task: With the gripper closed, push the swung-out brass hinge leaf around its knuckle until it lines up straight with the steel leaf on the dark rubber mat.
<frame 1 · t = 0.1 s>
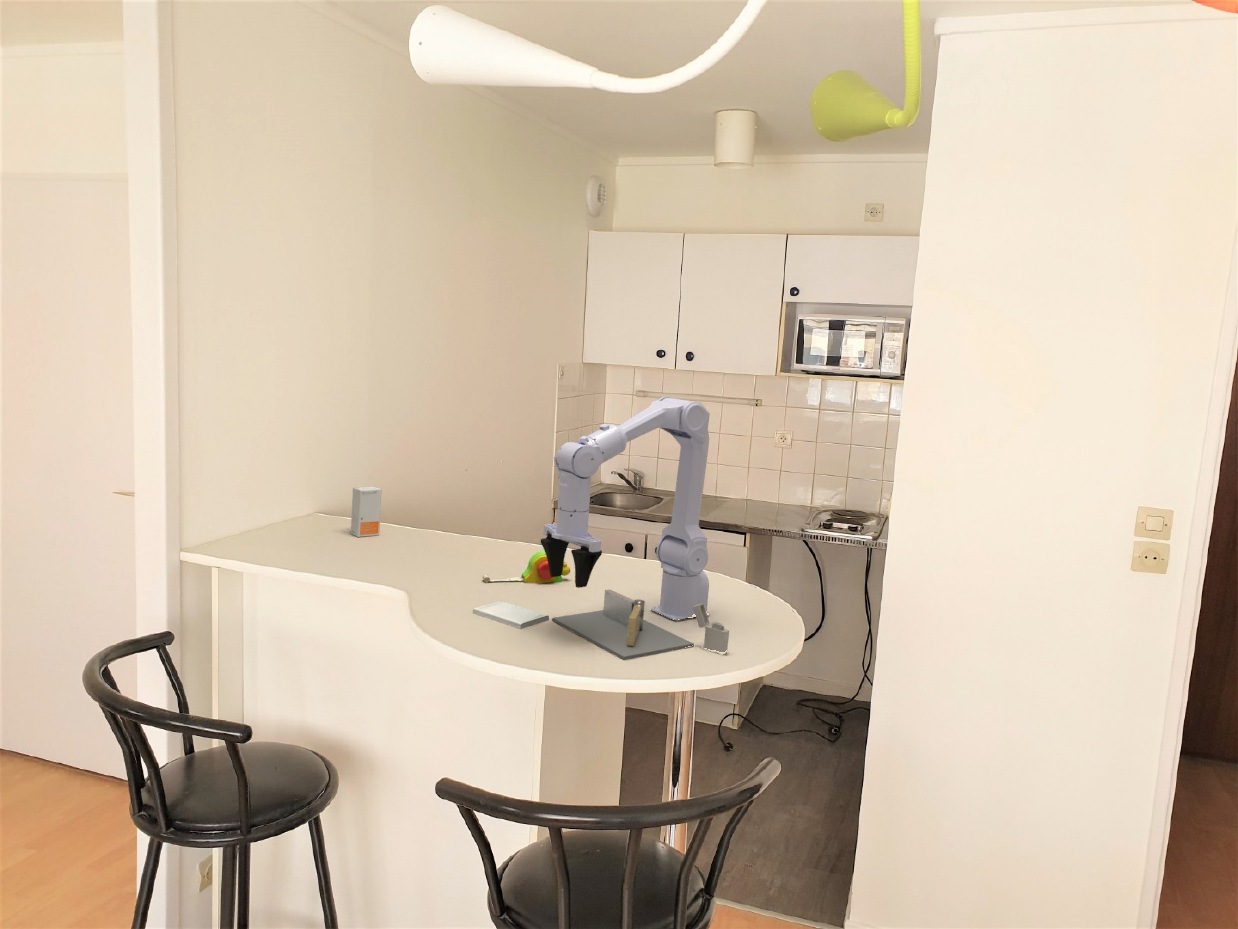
hand: (568, 581, 171), 10 cm above the breakfast bar, tool pointing down, fingers open, 7 cm apart
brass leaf: (635, 622, 171), point 4 cm above the breakfast bar, hinge at -45.0°
lighter: (708, 650, 171), on the breakfast bar
hinge base: (636, 632, 176), on the breakfast bar
hard drive: (510, 620, 180), on the breakfast bar
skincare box: (365, 535, 236), on the breakfast bar
toy measuring tape: (526, 582, 206), on the breakfast bar
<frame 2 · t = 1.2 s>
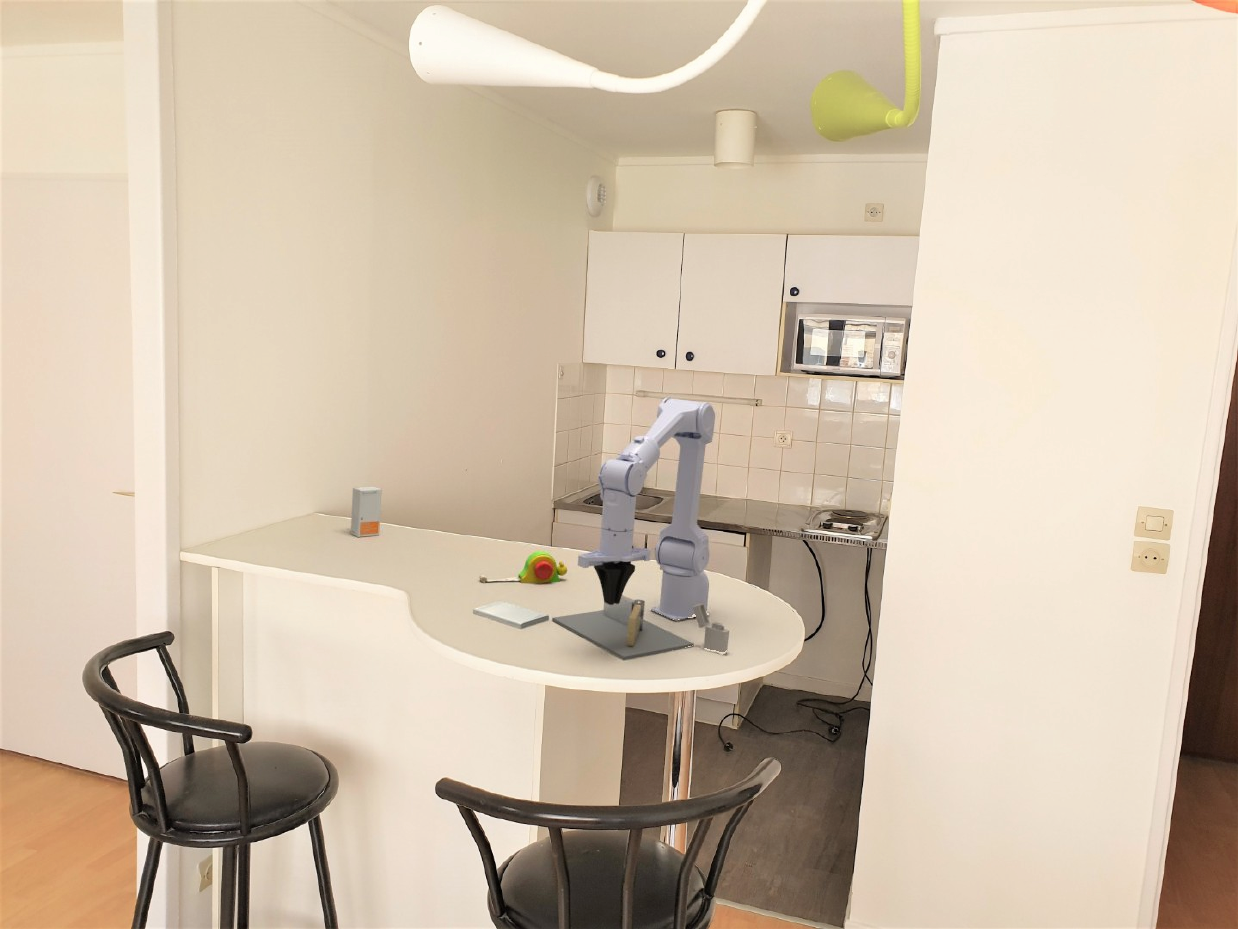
hand: (611, 602, 166), 8 cm above the breakfast bar, tool pointing down, fingers closed
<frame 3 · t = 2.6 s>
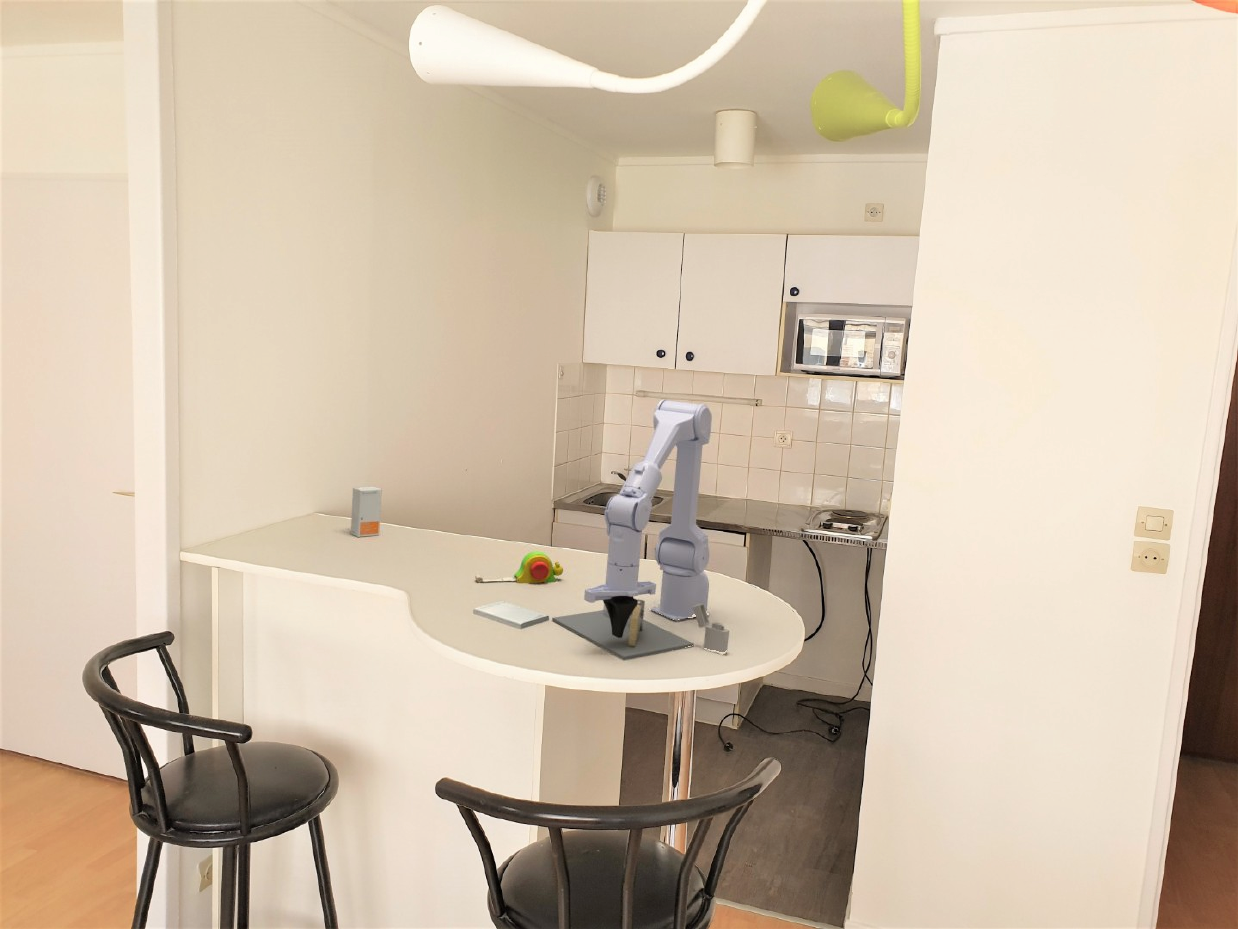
hand: (617, 636, 168), 2 cm above the breakfast bar, tool pointing down, fingers closed
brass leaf: (636, 622, 171), point 4 cm above the breakfast bar, hinge at -43.2°, touching gripper
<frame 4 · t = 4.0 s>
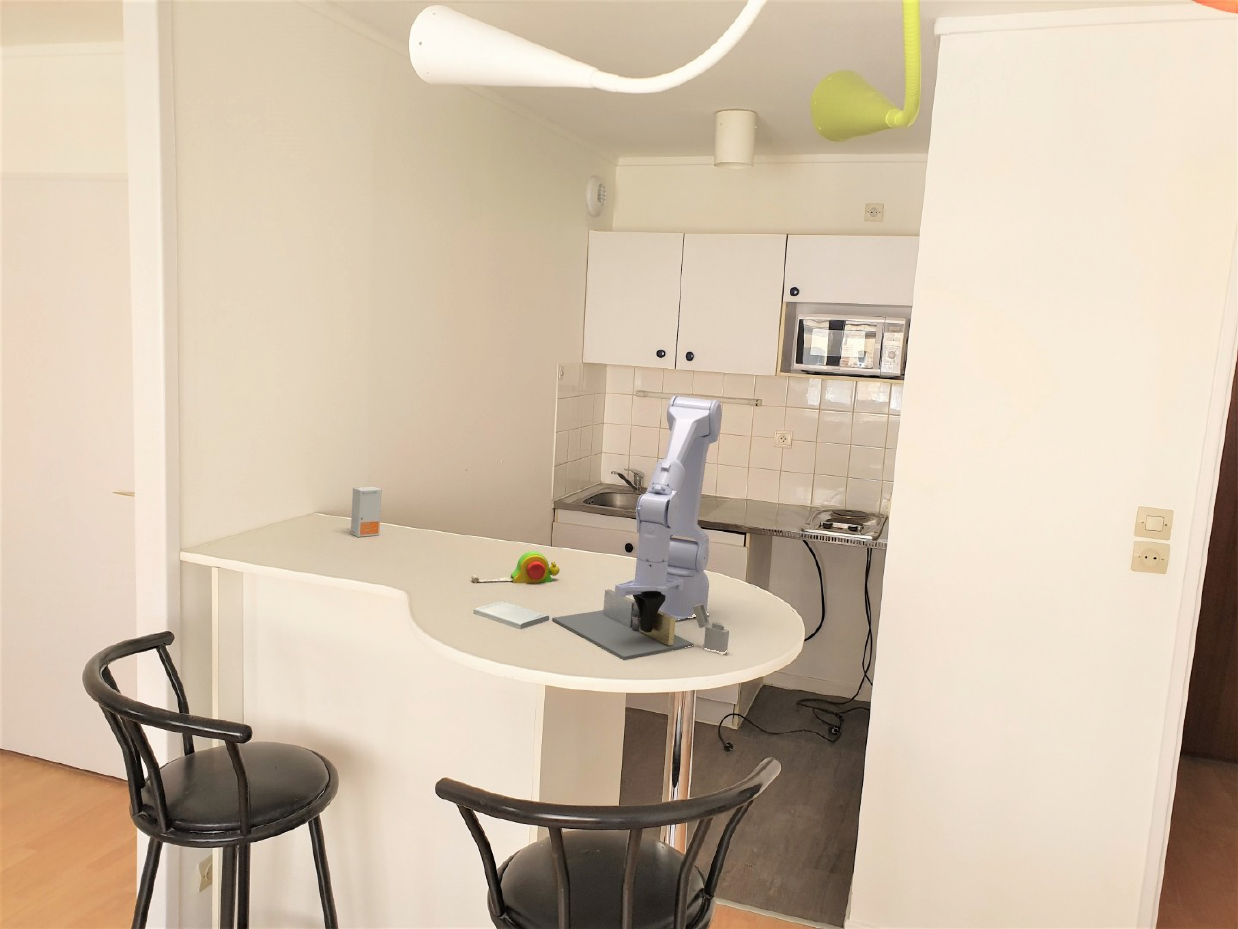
hand: (646, 630, 171), 2 cm above the breakfast bar, tool pointing down, fingers closed
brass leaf: (653, 621, 172), point 4 cm above the breakfast bar, hinge at -0.2°, touching gripper
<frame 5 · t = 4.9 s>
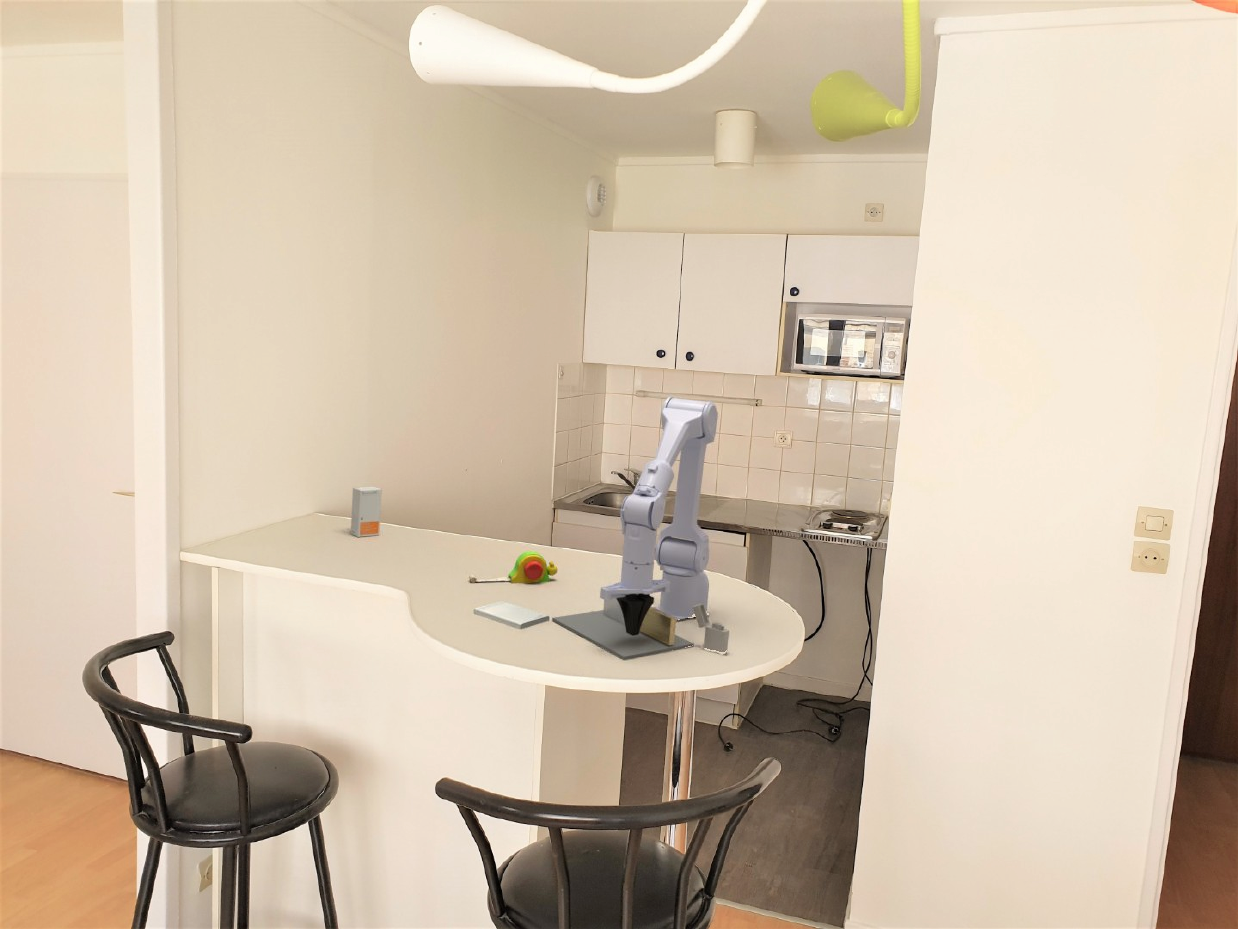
hand: (632, 633, 170), 2 cm above the breakfast bar, tool pointing down, fingers closed
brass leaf: (653, 621, 172), point 4 cm above the breakfast bar, hinge at 0.5°
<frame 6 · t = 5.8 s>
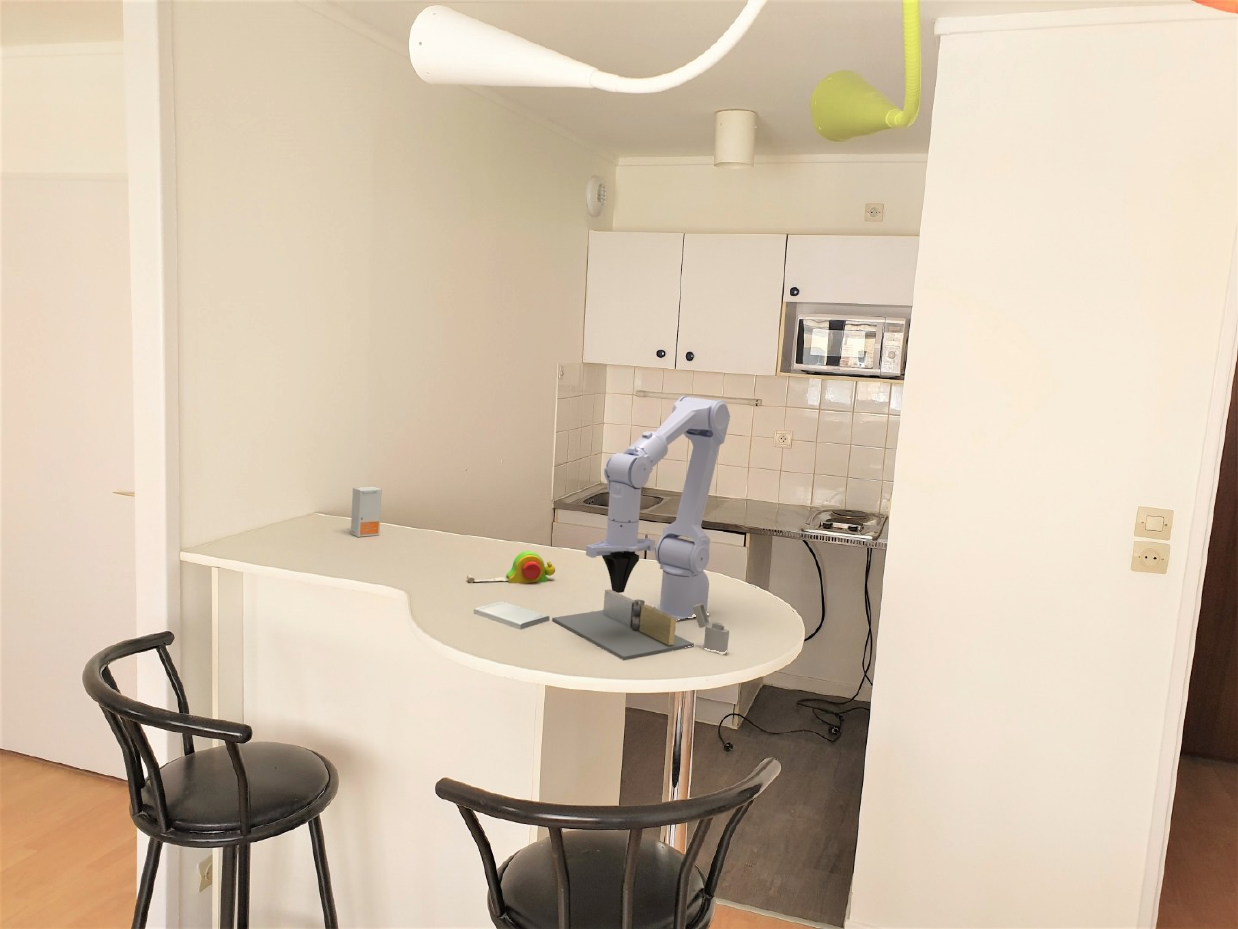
hand: (617, 591, 172), 9 cm above the breakfast bar, tool pointing down, fingers closed
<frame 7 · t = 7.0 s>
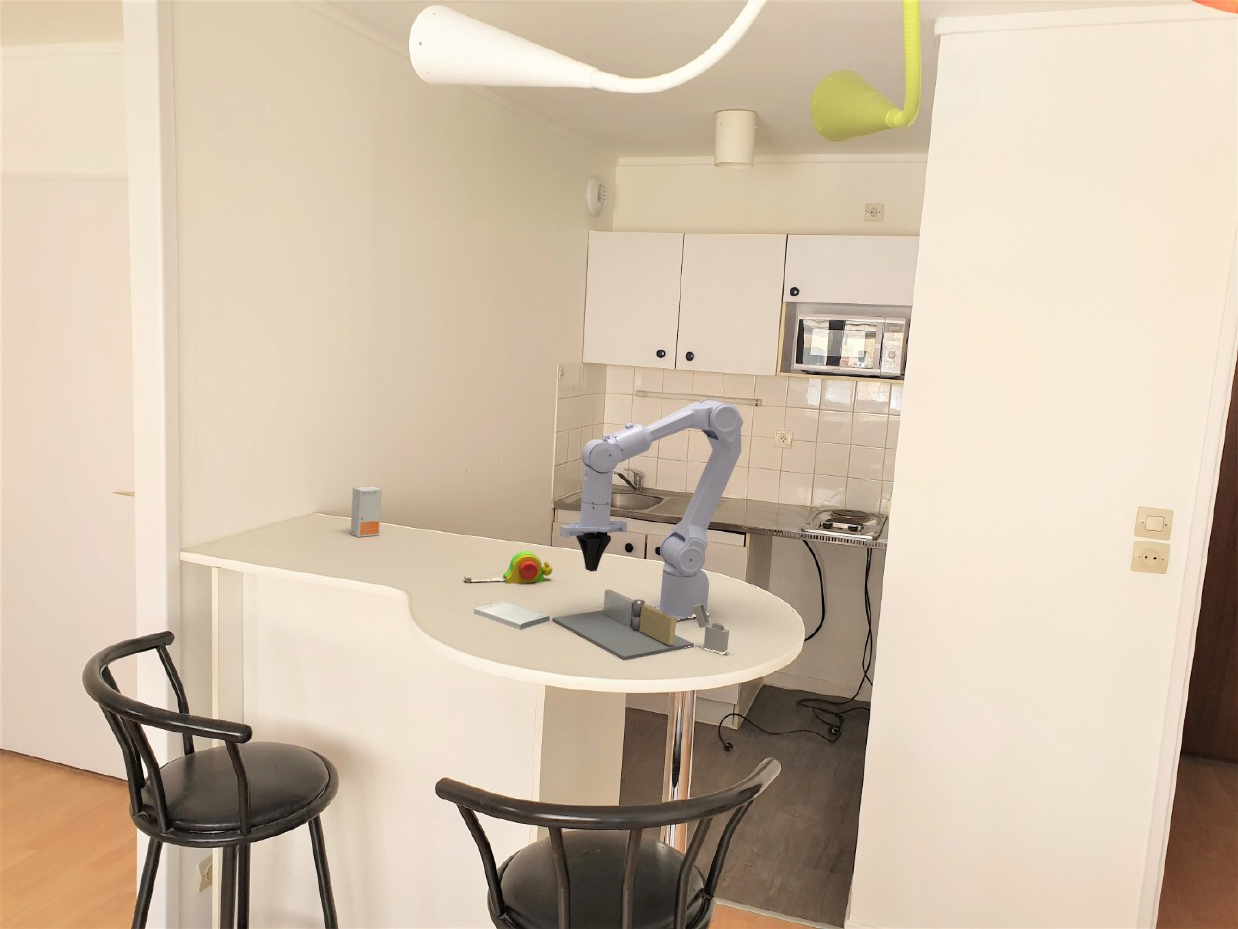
hand: (591, 570, 183), 9 cm above the breakfast bar, tool pointing down, fingers closed
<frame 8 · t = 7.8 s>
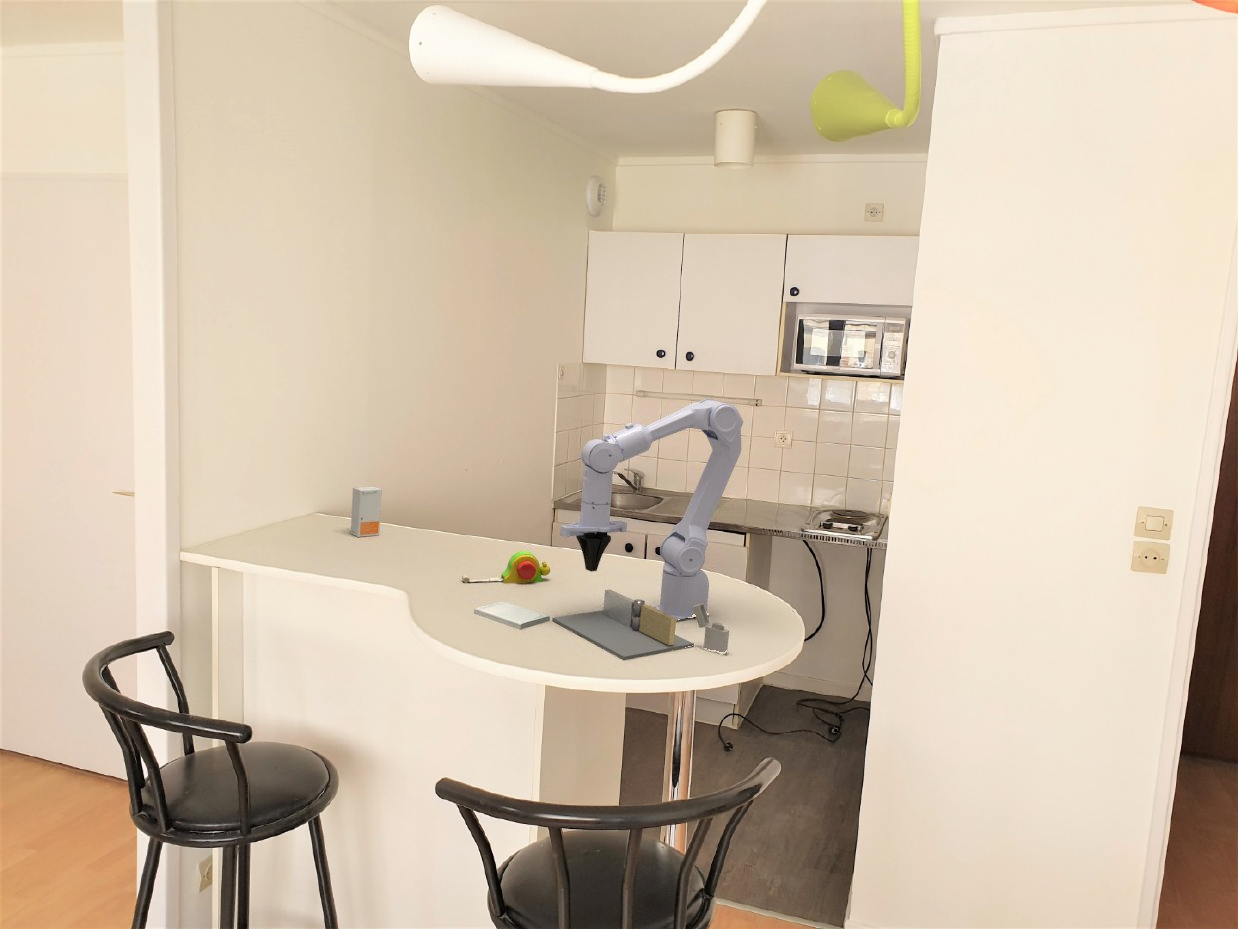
hand: (591, 570, 183), 9 cm above the breakfast bar, tool pointing down, fingers closed
at the end: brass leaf at +0° (first picture: -45°); hard drive moved 0.8 cm from its start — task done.
